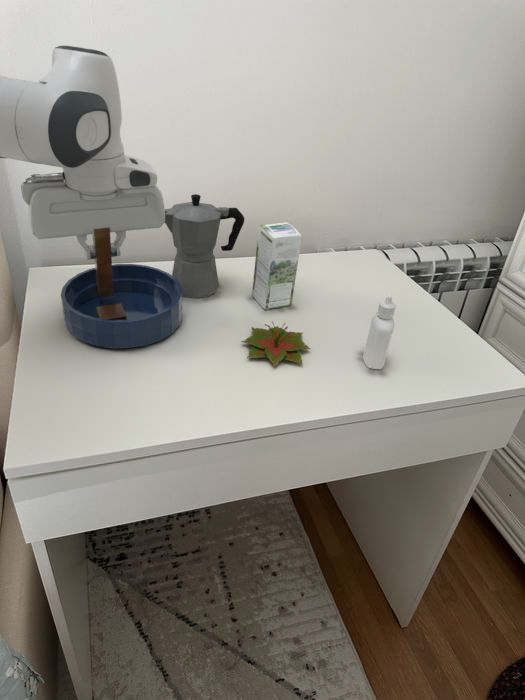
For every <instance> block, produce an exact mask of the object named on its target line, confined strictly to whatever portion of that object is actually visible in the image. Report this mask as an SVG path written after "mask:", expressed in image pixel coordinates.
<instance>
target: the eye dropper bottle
mask: <svg viewBox="0 0 525 700" xmlns="http://www.w3.org/2000/svg"><path fill="white" fill-rule="evenodd" d="M378 304H379V305H378V308H377V312H375V313H374V314H373V316H372V317H371V322H370V324H369V325H370V326H369V329H368V333H367V338H366V342H365V346H364V350H363V354H362V358H363V362H364V365H366V367H367V368H368V369H373V370H382V369H383V367H384V365H385V364H386V363H385V362H386V359H387V355H388V351H389V348H390V345H391V341H392V337H393V333H394V329H395V321H394V320H395V319H394V318H393V317H394V314H395V310H396V304H395V303H394V302H393V296H392V295H391V294H389V295H387V296H386V298H385V299H384V300H381V301H379V303H378Z"/></svg>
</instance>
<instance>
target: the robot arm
mask: <svg viewBox="0 0 525 700" xmlns="http://www.w3.org/2000/svg"><path fill="white" fill-rule="evenodd" d="M117 76H118V75H117V72H116V68H115V65H114V61H113V58H111V56H110V55H109V54H107V53H105V52H103V51H101V50H97V49H93V48H85V47H79V46H72V45H57V46H55V47H54V48H53V49H52V53H51V67H50V69H49V70H48V72H47V74H45V75H44V76H43V77H42V78H41V79H39V80H38V81H32V80H26V79H21V78H12V77H8V76H5V75H2V74H0V159H11V160H14V161H15V160H16V161H21V162H26V163H30V164H37V165H44V166H45V165H46V166H50V167H56V168H62V172H50V173H44V174H40V173H33V174H31V175H29V176H30V177H27V178H25V179H24V180H23V181H22V183H21V184H20V191H21V196H22V199H23V202H24V203H25V204H26V205H27V206H28V218H29V219H28V220H29V226H30V231H31V233H32V235H33V236H34V237H35V238H37V239H38V240H46V239H47V240H48V239H57V238H68V237H76V241H77V242H78V244H79V245H80V246H81V248H83V249H84V252H85V253H84V254H85V258H86V260H87V261H89V260H95V259H96V258H97V257H96V251H95V248H94V245H93V244H88V242H87V241H88V236H89V235H92V234H94V229H101V228H110V233H114V234H115V238H114V239H113V242H111V257H112V258H116V257H121V247H122V245H123V243H124V241H125V240H126V238H127V232H130V231H139V230H141V231H142V230H150V229H160V228H162V226H163V225H164V224H165V209H166V208H165V202H164V197H163V194H162V191H161V189H160V188H159V187H158V186H157V183H158V175H157V172H156V171H155V169H154V167H152V166H151V164H150V163H148V162H147V161H146V160H144V159H140V158H138V157H133V156H130V155H127V154H125V148H124V147H125V146H124V144H123V142H122V138H121V127H122V123H123V115H122V114H123V113H122V103H121V94H120V93H121V92H120V87H119V82H118V77H117Z"/></svg>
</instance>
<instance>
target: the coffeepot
mask: <svg viewBox="0 0 525 700" xmlns="http://www.w3.org/2000/svg"><path fill="white" fill-rule="evenodd" d="M201 197H202V196H201V195H200V194H197V193H196V194H191V195H190V198H191V201H188V202H182V203H176V204H175V203H174V205H173V206H172V207H170V208H165V222H164V224H165V225H166V227H167V229H168V230H169V232H170V233H171V236H172V241H173V246H174V247H175V249H176V254H175V257H174V261H173V266H172V274H171V275H172V276H173V277H174V278H176V279H177V281H178V282H179V284H180V285H181V288H182V297H184V298H188V299H189V298H190V299H201V298H207V297H210V296H212V295H214V294H215V293H216V292H217V291H218V287H219V285H220V283H219V277H218V270H217V263H216V257H215V255H214V249H215V248H216V245H217V240H218V234H219V230H220V225H221V221H222V220H229V219H234V221H233V224H232V227H231V232H230V234H229V235H228V241H227V244H226V245H221V246H220V248H221V251H223V252H228V251H232V250H234V247H235V244H236V242H237V239H238V237H239V235H240V233H241V230H242V228H243V226H244V223H245V217H244V215H243V213H242V212H241V211H240V210H239V209H238V208H237V207H226V206H224V207H216V206H215V205H213V204H210V203H205V202H204V203H203V202H201Z"/></svg>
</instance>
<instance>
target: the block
mask: <svg viewBox="0 0 525 700" xmlns="http://www.w3.org/2000/svg"><path fill="white" fill-rule="evenodd" d="M96 311H97V318H99V319H108V320H127V318H126V314H125V311H124V309H123V306H122V304H113V305H106V306H98V307H96Z"/></svg>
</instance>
